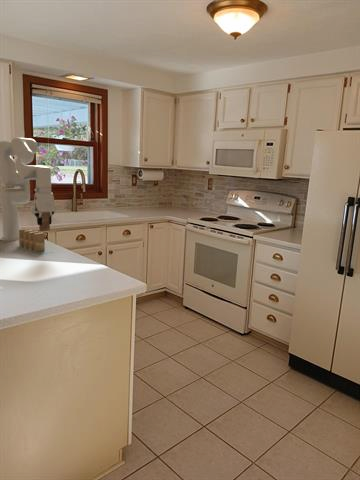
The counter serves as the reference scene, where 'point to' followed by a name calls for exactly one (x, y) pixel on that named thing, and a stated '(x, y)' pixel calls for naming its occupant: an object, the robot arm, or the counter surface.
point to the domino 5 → (39, 242)
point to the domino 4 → (45, 222)
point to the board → (36, 252)
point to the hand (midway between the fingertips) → (44, 224)
